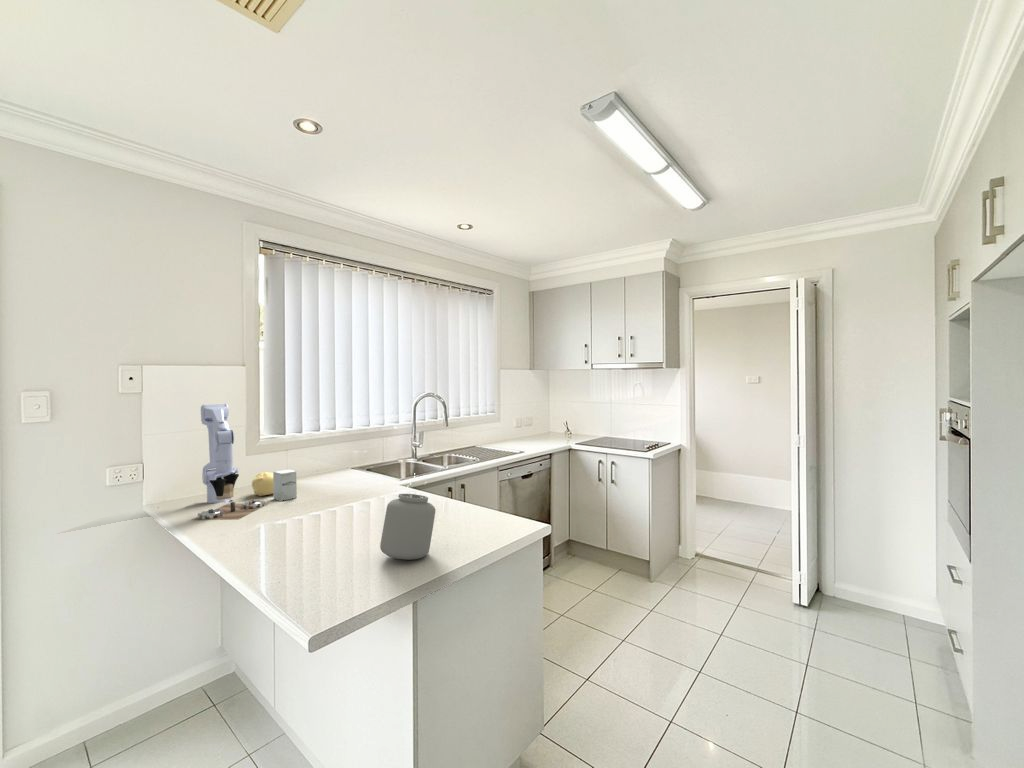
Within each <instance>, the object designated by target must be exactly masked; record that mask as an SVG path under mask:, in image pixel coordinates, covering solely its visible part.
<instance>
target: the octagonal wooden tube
mask: <svg viewBox="0 0 1024 768" xmlns="http://www.w3.org/2000/svg"><path fill="white" fill-rule="evenodd" d="M233 497H234V489H233V484H225V485H224V493H223V496H216V499H217V500H223V499H229V498H231V499H233Z"/></svg>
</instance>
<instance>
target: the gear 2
mask: <svg viewBox="0 0 1024 768" xmlns="http://www.w3.org/2000/svg"><path fill="white" fill-rule="evenodd" d="M265 503H266V502H265V500H263V499H262V500H260V499H257V500H256V499H251V500H249V501H245V502H244V503H243V502H242V503H241V504H242V509H245V508H246V509H250V508H253V509H255V508H257V507H262V506H264V505H265ZM264 507H265V506H264ZM262 508H263V507H262Z"/></svg>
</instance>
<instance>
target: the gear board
mask: <svg viewBox="0 0 1024 768" xmlns="http://www.w3.org/2000/svg"><path fill="white" fill-rule="evenodd" d="M269 504H271V503H270V502H268V503H267V502H265V505H264V506H262V507H257V508H255V509H253V508H250V509H246V508H245V509H242V503H236V501H231V502H229V503H227V504H224V505H222V506H220V507H217V508H215V509H214V510H216V509H219V510H223V511H224V515H222V516H220V517H218V518H217V517H215V518H213V519H210V518H209V519H205V520H204V521H224V520H225V521H227V520H228V521H230V520H232V521H233V520H234V521H236V520H240V519H242V518H244V517H246V516H248V515H250V514H252V513H254V512H256V511H257V510H260V509H262V508H264V507H266V506H268V505H269ZM191 521H203V520H202V519H198V516H197V517H195V518H192V519H191Z"/></svg>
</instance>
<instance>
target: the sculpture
mask: <svg viewBox="0 0 1024 768" xmlns="http://www.w3.org/2000/svg"><path fill="white" fill-rule="evenodd" d="M251 487H252V492H253V493H254V494H256V495H257V496H258V497H262V496H269V495H274V491H273V472H270V471H265V472H259V473H258V474H257V475H256V476H255V477H254V479H253V480H252V481H251Z"/></svg>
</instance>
